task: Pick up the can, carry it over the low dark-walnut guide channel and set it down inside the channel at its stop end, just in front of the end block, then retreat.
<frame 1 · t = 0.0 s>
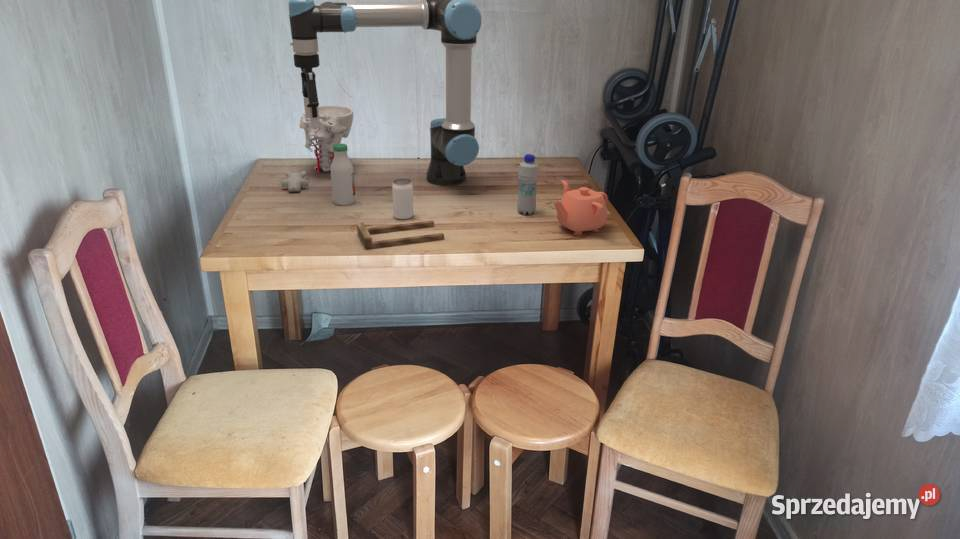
hand: (312, 122, 206), 28 cm above the table, fingers open, 13 cm apart
orange rounded piece: (576, 228, 205), on the table
bottle: (526, 213, 216), on the table
can: (403, 216, 210), on the table
bunny figurine: (296, 187, 234), on the table
milk bottle: (344, 202, 221), on the table
skull: (331, 172, 251), on the table
guide: (403, 236, 196), on the table
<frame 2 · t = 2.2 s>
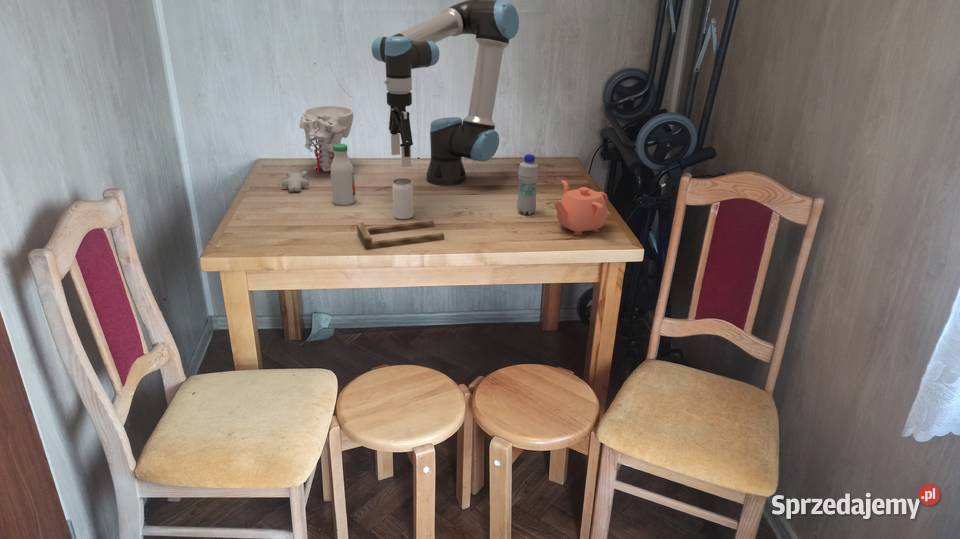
hand: (401, 160, 202), 19 cm above the table, fingers open, 13 cm apart
nothing on the table moved.
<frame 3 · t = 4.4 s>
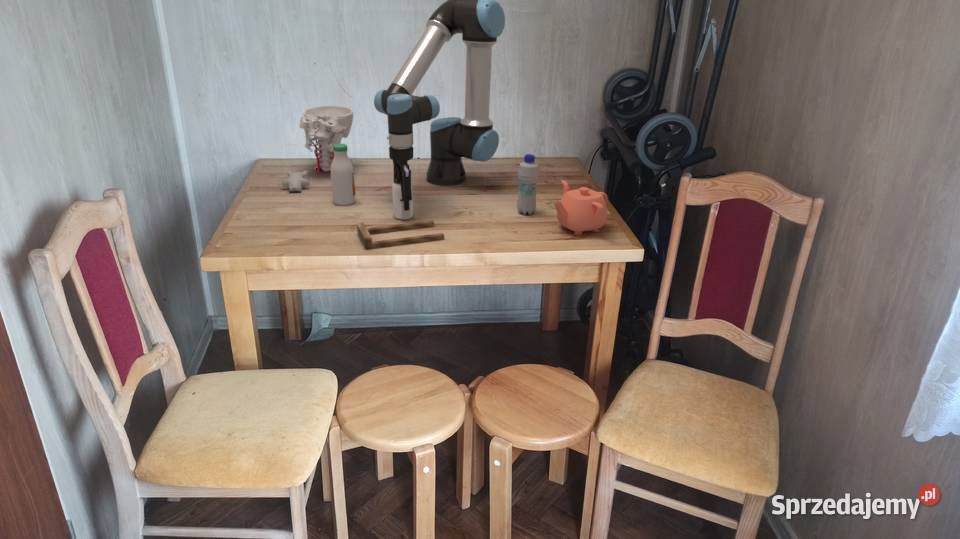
hand: (403, 214, 210), 0 cm above the table, fingers closed on can, 6 cm apart
can: (403, 216, 210), on the table, touching gripper
everything else where it was.
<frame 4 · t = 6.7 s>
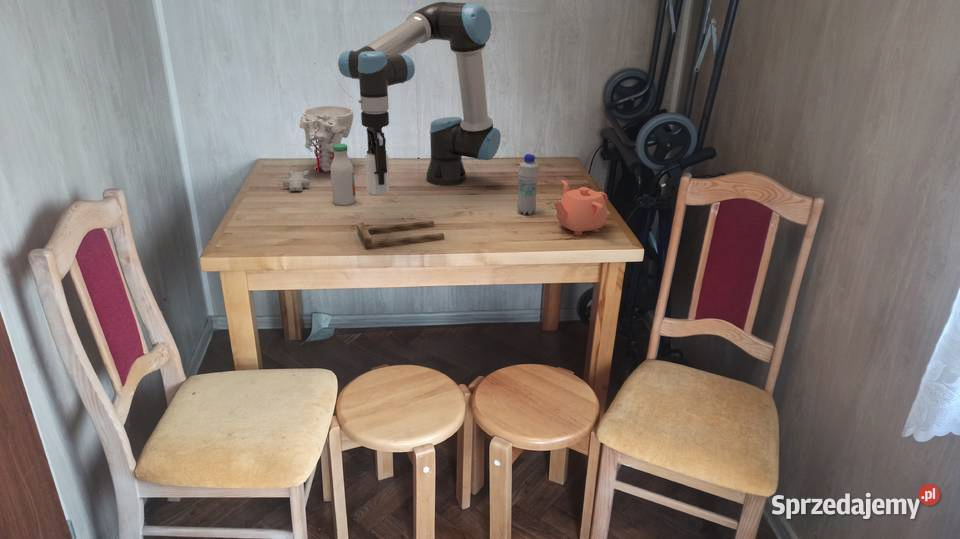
hand: (378, 190, 187), 15 cm above the table, fingers closed on can, 6 cm apart
can: (378, 192, 187), point 15 cm above the table, touching gripper
everything else where it was.
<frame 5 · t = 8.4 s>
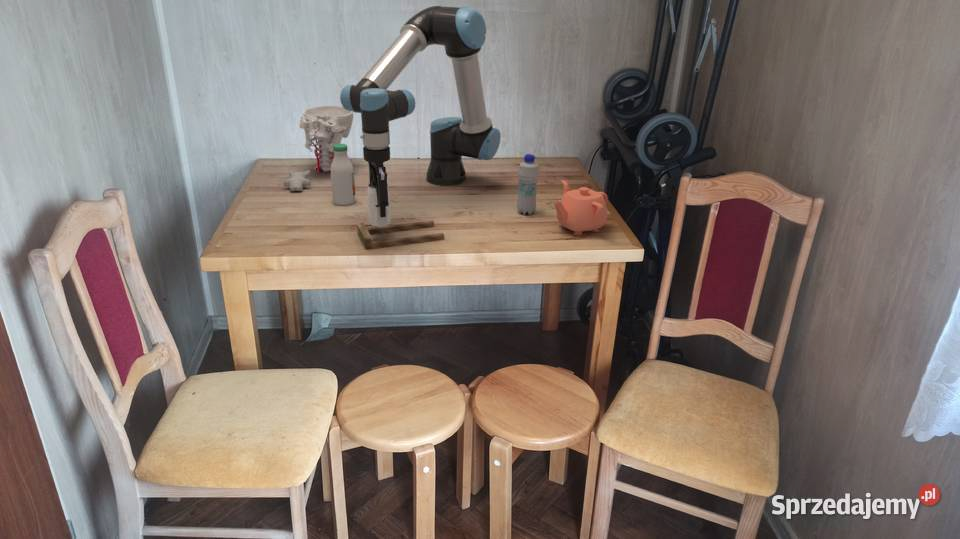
hand: (380, 221, 191), 6 cm above the table, fingers closed on can, 6 cm apart
can: (380, 223, 191), point 5 cm above the table, touching gripper
everything else where it was.
when the fingers open (3 cm above the table, at t = 9.4 s): can drops 2 cm, resting in guide.
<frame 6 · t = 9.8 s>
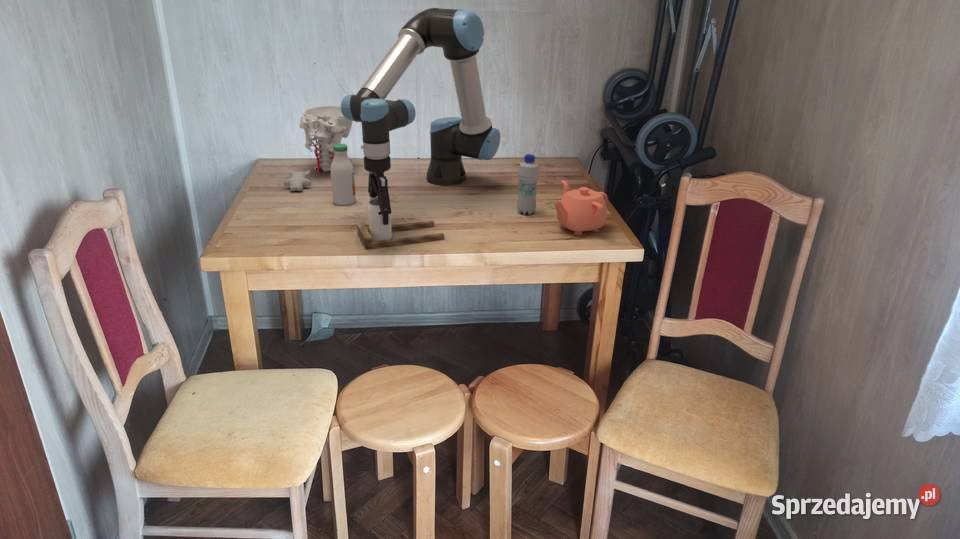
hand: (380, 225, 191), 4 cm above the table, fingers open, 12 cm apart
can: (381, 239, 193), resting in guide
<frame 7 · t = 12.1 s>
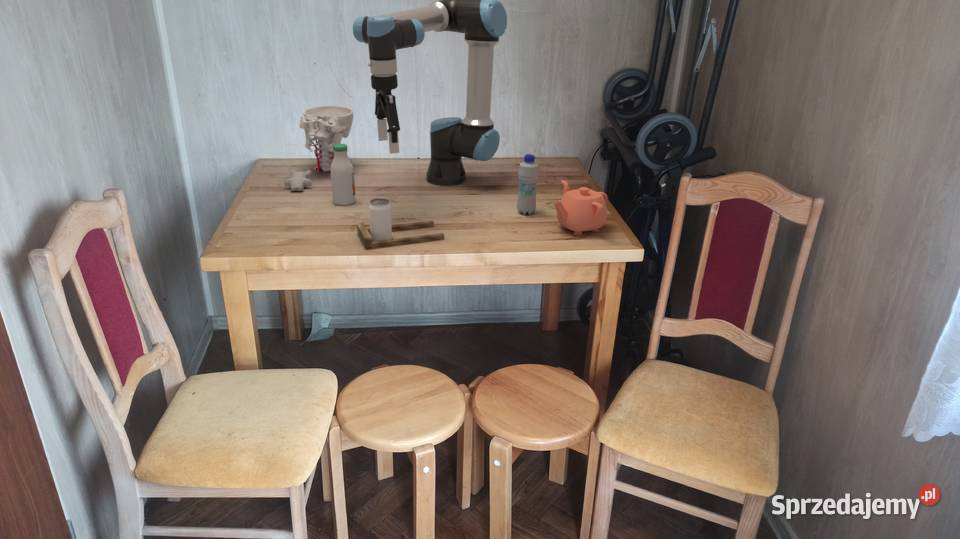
hand: (388, 146, 193), 25 cm above the table, fingers open, 13 cm apart
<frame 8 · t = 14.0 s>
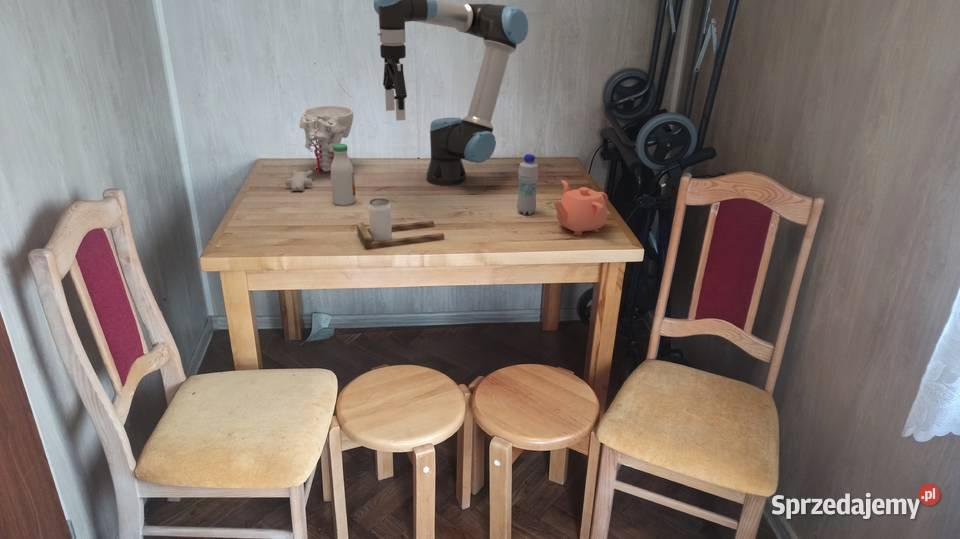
hand: (395, 115, 201), 32 cm above the table, fingers open, 13 cm apart
at the end: can 0.3 cm from the target spot on the guide, point 0.0 cm above the guide's base; can tilted 0°; the gripper is holding nothing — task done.
